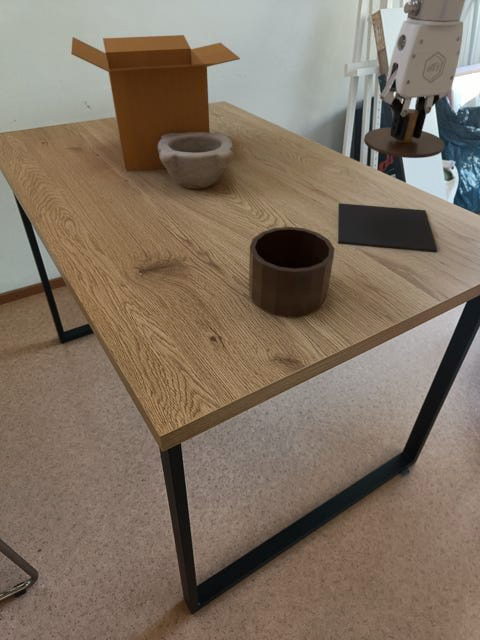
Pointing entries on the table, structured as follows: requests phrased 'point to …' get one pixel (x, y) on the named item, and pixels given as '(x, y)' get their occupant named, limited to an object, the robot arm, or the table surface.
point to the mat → (385, 227)
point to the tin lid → (405, 141)
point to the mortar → (195, 157)
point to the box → (155, 89)
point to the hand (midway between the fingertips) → (405, 136)
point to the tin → (290, 271)
